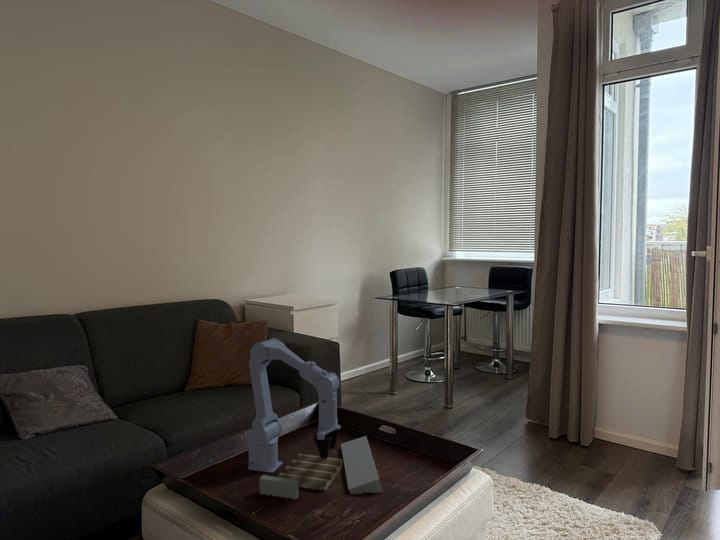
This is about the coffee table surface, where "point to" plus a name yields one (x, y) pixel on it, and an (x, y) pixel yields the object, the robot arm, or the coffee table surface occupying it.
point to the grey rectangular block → (360, 467)
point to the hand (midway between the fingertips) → (327, 453)
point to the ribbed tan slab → (313, 471)
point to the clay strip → (279, 487)
